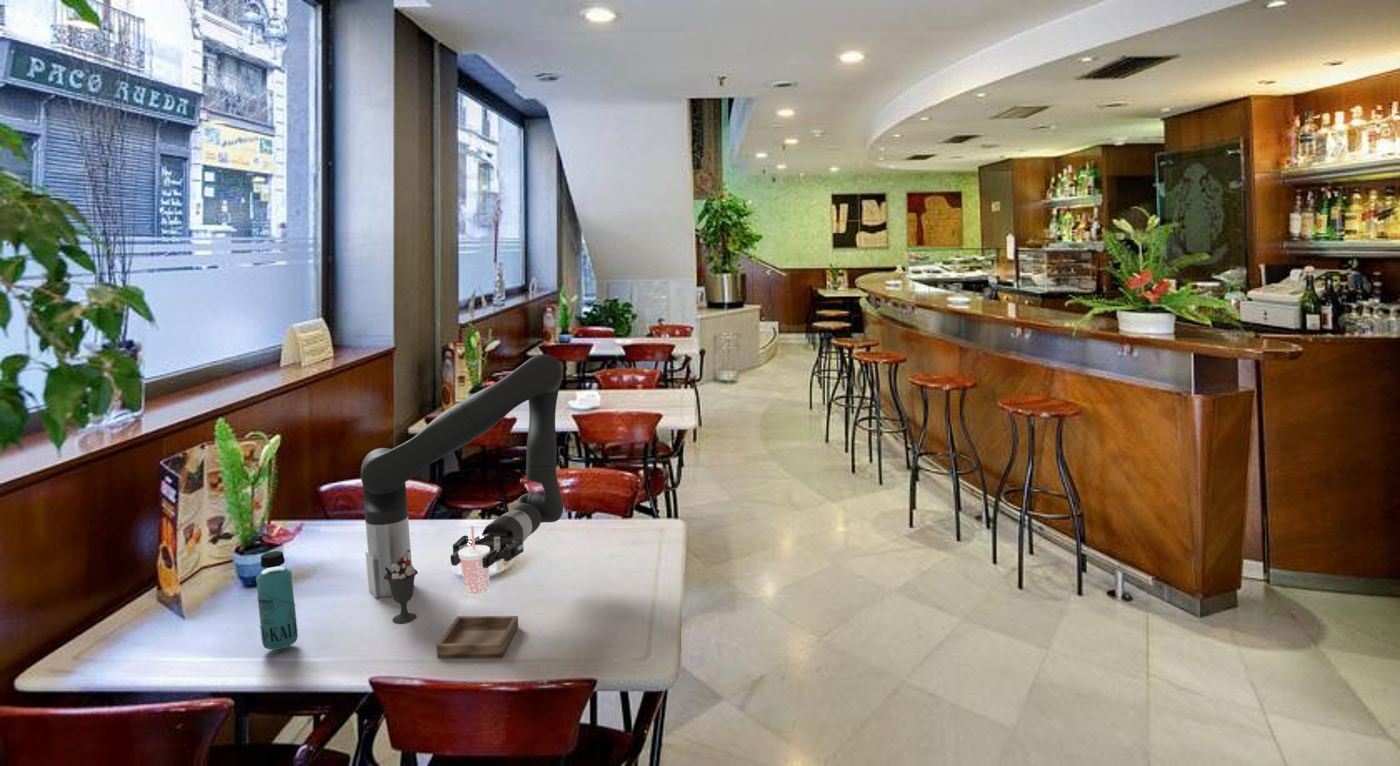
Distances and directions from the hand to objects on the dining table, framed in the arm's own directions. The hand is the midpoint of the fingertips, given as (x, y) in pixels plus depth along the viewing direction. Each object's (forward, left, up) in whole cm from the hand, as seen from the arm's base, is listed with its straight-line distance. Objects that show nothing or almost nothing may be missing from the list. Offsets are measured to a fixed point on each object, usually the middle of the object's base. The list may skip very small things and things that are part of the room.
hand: (468, 562), depth 154 cm
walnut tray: (+2, +2, -18) cm, 18 cm away
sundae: (-7, +22, -18) cm, 29 cm away
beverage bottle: (-31, +24, -18) cm, 43 cm away
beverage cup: (+2, +2, -8) cm, 8 cm away
